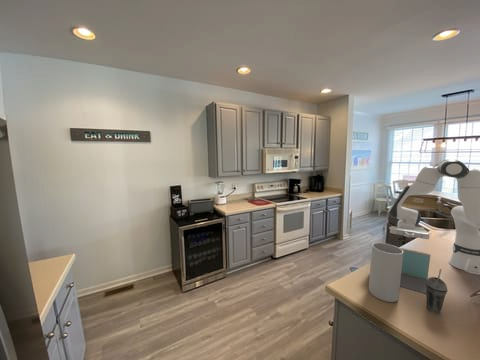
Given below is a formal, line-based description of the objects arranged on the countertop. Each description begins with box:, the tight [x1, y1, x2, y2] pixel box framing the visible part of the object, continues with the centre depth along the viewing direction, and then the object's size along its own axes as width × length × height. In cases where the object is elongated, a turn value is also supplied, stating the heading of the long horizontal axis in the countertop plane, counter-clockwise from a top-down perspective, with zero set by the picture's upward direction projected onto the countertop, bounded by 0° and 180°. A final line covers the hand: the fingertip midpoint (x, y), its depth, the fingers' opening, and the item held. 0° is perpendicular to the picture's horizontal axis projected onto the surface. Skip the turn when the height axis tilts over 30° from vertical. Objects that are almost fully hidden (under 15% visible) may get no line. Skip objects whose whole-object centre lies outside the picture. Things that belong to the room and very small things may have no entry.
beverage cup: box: [425, 268, 448, 315], centre depth 90 cm, size 7×7×20 cm
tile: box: [397, 246, 431, 279], centre depth 118 cm, size 15×2×15 cm, turn 57°
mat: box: [400, 273, 427, 295], centre depth 111 cm, size 18×16×1 cm
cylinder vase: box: [368, 242, 403, 303], centre depth 100 cm, size 12×12×25 cm
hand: (410, 236), depth 127 cm, fingers closed
